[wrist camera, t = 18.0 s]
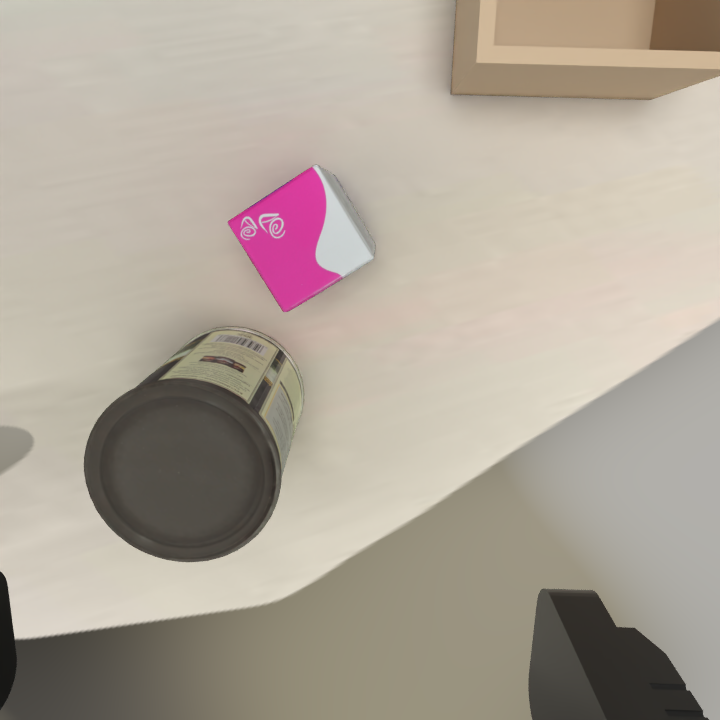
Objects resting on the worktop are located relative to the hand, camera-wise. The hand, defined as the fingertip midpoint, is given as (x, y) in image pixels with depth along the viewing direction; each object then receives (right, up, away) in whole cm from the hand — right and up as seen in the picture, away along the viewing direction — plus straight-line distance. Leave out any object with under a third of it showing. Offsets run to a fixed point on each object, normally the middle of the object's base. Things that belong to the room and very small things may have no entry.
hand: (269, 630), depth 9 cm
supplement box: (-1, +13, +34) cm, 37 cm away
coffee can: (-8, +2, +37) cm, 38 cm away
